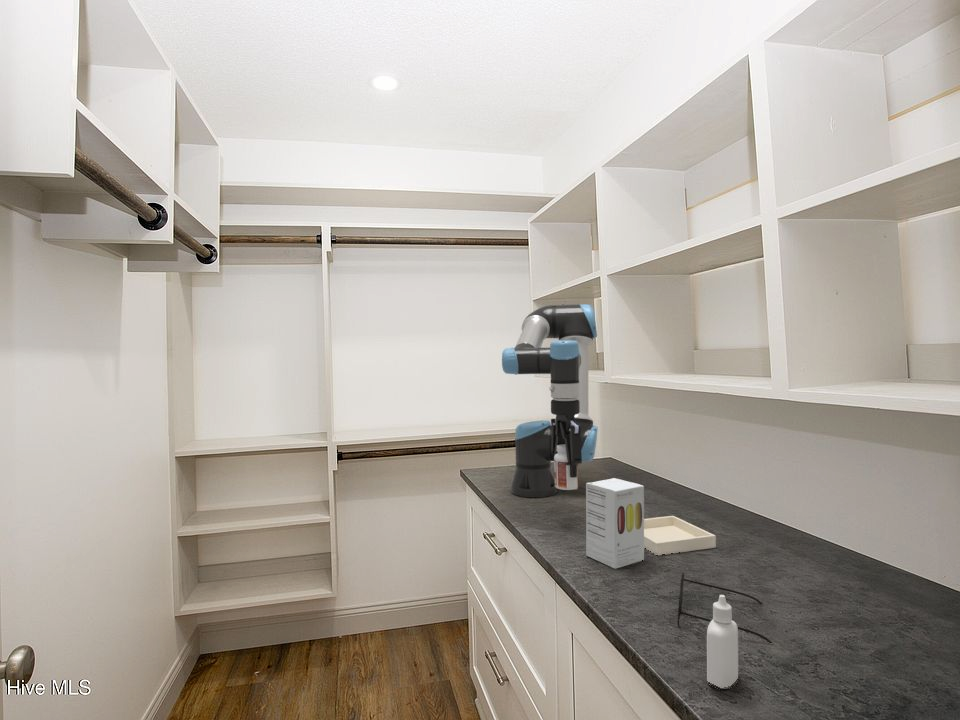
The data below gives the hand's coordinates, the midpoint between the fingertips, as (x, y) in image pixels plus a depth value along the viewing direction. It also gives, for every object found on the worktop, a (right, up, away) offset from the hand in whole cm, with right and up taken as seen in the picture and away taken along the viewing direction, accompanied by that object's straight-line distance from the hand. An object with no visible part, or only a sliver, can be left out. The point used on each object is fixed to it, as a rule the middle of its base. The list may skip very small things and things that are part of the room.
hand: (566, 485), depth 141 cm
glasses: (+20, -12, -48) cm, 53 cm away
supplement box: (+7, -12, -21) cm, 25 cm away
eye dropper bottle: (+11, -12, -66) cm, 68 cm away
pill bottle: (0, -1, 0) cm, 1 cm away
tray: (+23, -11, -11) cm, 27 cm away
